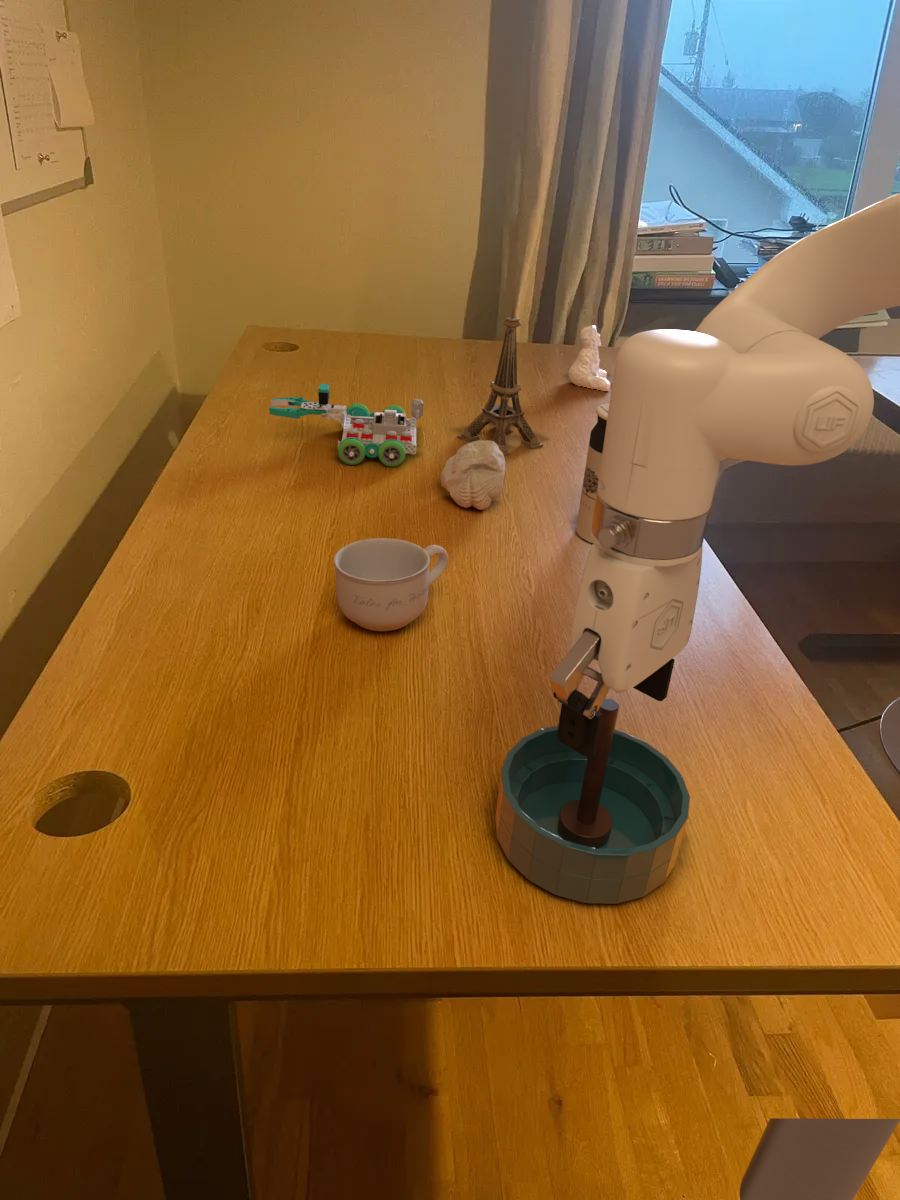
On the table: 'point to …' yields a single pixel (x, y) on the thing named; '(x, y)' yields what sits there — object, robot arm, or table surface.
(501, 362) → the eiffel tower
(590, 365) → the sitting furry creature
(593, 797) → the stirring stick
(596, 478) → the travel mug
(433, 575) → the teacup
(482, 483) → the fossil replica
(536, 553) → the table surface
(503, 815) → the bowl
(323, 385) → the robot kit
